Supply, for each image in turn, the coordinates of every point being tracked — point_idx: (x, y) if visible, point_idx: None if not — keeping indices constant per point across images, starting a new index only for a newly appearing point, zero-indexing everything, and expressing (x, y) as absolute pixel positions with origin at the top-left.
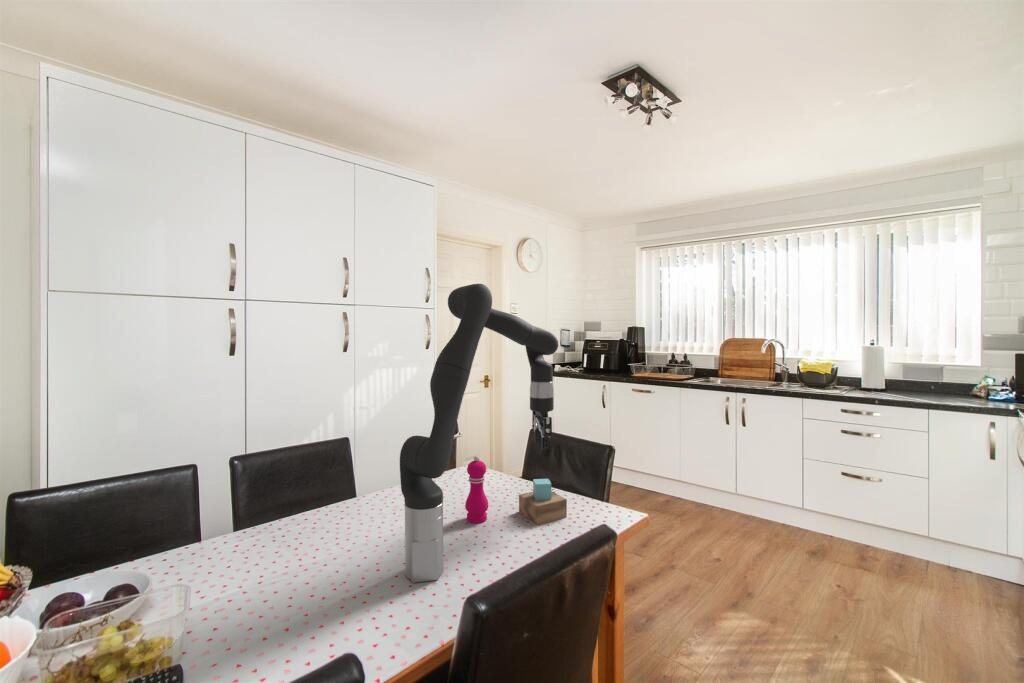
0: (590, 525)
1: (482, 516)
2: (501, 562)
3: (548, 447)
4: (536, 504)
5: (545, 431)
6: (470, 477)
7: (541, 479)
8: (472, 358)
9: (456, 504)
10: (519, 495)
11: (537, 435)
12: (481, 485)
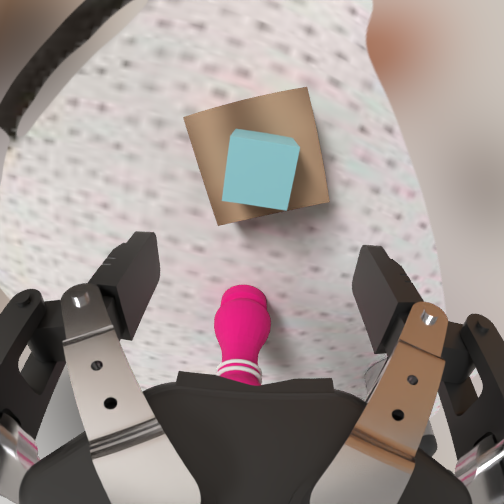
0: (368, 56)
1: (263, 304)
2: (423, 293)
3: (396, 262)
4: (317, 199)
5: (475, 396)
6: None
7: (233, 168)
8: None
9: (155, 319)
10: (220, 224)
11: (137, 298)
12: (254, 359)
